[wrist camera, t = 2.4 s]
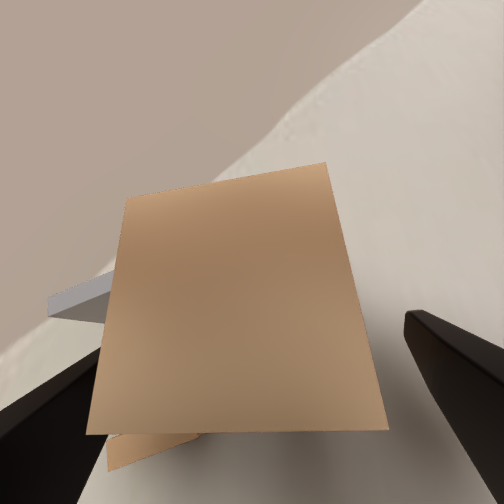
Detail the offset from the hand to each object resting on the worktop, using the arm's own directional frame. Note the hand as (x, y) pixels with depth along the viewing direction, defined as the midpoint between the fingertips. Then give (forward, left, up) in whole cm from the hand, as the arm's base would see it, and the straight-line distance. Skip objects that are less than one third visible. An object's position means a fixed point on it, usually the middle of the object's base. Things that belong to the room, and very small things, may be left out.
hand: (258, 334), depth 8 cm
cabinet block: (0, -1, -9) cm, 9 cm away
